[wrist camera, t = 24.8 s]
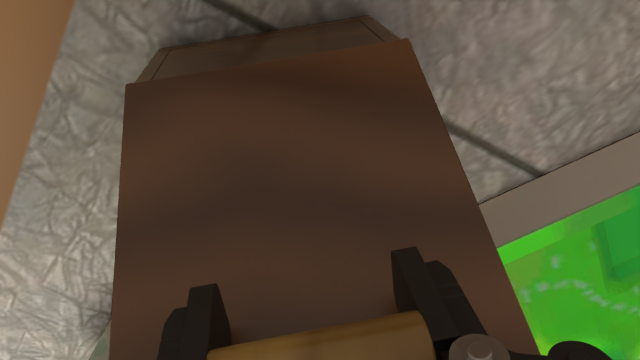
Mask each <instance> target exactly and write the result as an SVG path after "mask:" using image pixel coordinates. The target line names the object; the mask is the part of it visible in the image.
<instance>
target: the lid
mask: <svg viewBox="0 0 640 360" xmlns="http://www.w3.org/2000/svg"><path fill="white" fill-rule="evenodd" d="M414 246H416V247H417V248H418V250H419V252H420V254H421V256H422V258H423V260H424V262H430V261H435V260H438V261H439V262H441V263H442V264H443V265H445V266H446V267H448V268H449V269H450V270H451V271H452V273H453V275H454V276H455V278H456V280H457V282H458V285H460V287H461V289H462V290H463V292H464V295H465V296H466V297H467V299H468V301H469V303H470V304H471V306H472V308H473V310H474V311H475V313H476V315H477V317H478V318H479V320H480V322H481V324H482V325H483V327H484V329H485V331H486V332H487V334H488V335H489V336H490V337H492V338H494V339H496V340H498V341H499V342H500V343H502V344H503V345H504V346H505V348H506V349H507V350H510V351H513V352H517V353H522V354H533V355H541V354H540V351H539V349H538V346H537V344H536V342H535V339H534V337H533V334H532V332H531V330H530V327H529V325H528V322H527V320H526V318H525V315H524V313H523V311H522V308H521V306H520V303H519V301H518V299H517V296H516V294H515V291H514V289H513V287H512V284H511V282H510V279H509V277H508V275H507V272H506V270H505V268H504V265H503V263H502V260H501V258H500V256H499V253H498V251H497V248H496V246H495V244H494V241H493V239H492V236H491V234H490V232H489V229H488V227H487V225H486V222H485V220H484V217H483V215H482V213H481V210H480V208H479V205H478V203H477V201H476V198H475V196H474V193H473V191H472V189H471V186H470V184H469V182H468V179H467V177H466V174H465V172H464V170H463V167H462V165H461V162H460V160H459V158H458V155H457V153H456V150H455V148H454V146H453V143H452V141H451V139H450V136H449V134H448V131H447V129H446V127H445V124H444V122H443V119H442V117H441V115H440V112H439V110H438V108H437V105H436V103H435V100H434V98H433V96H432V93H431V91H430V88H429V86H428V84H427V81H426V79H425V76H424V74H423V72H422V69H421V67H420V65H419V62H418V60H417V57H416V55H415V53H414V50H413V48H412V45H411V43H410V41H409V39H408V38H405V39H399V40H393V41H387V42H381V43H375V44H368V45H362V46H356V47H350V48H344V49H338V50H332V51H326V52H320V53H313V54H307V55H301V56H295V57H289V58H283V59H277V60H271V61H265V62H258V63H252V64H246V65H240V66H234V67H228V68H222V69H216V70H209V71H203V72H197V73H191V74H185V75H179V76H173V77H167V78H161V79H154V80H148V81H142V82H136V83H130V84H126V89H125V105H124V121H123V137H122V153H121V169H120V185H119V201H118V217H117V233H116V249H115V265H114V281H113V297H112V313H111V329H110V345H109V360H157V355H158V354H159V351H158V350H159V345H160V342H161V336H162V331H163V326H164V323H165V322H166V320H167V319H168V317H169V316H170V314H171V313H172V311H173V310H174V309H177V308H182V307H187V302H188V296H189V290H190V288H192V287H197V286H202V285H208V284H213V283H217V285H218V287H219V290H220V293H221V297H222V300H223V303H224V307H225V310H226V313H227V317H228V320H229V324H230V329H231V338H232V345H231V346H226V347H221V348H215V349H212V350H210V351H209V352H208V354H207V357H206V360H437V359H436V354H435V349H434V345H433V342H432V338H431V335H430V332H429V329H428V327H427V324H426V322H425V320H424V318H423V316H422V315H421V313H420V312H419V311H416V310H412V311H407V312H402V313H398V310H397V306H396V302H395V297H394V290H393V277H392V265H391V251H393V250H398V249H404V248H409V247H414Z"/></svg>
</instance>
